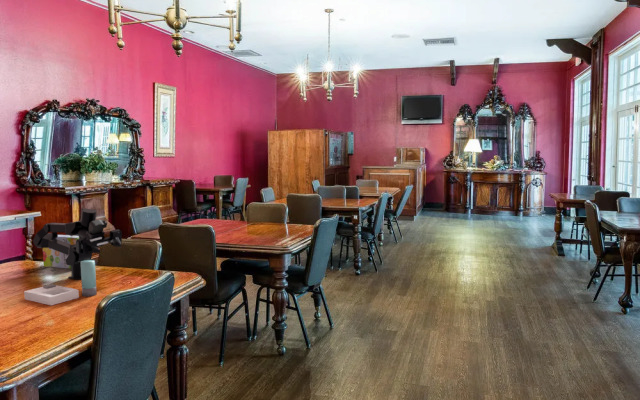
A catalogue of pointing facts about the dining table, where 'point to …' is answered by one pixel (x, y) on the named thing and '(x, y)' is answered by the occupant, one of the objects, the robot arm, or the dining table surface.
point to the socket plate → (51, 294)
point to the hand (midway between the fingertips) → (110, 248)
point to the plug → (88, 278)
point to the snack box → (58, 253)
